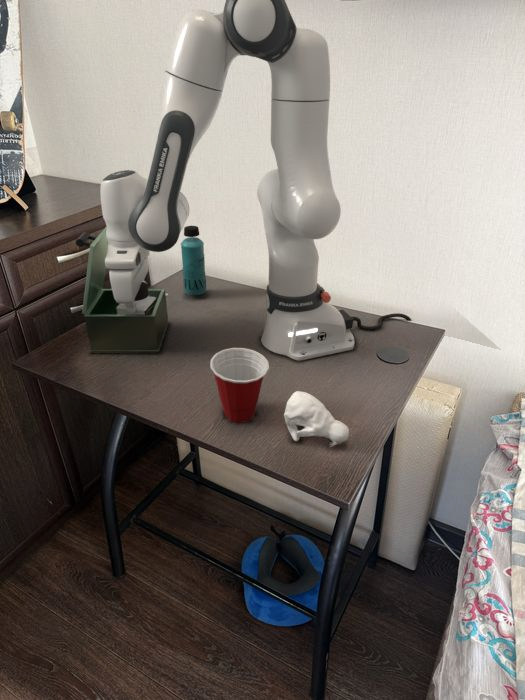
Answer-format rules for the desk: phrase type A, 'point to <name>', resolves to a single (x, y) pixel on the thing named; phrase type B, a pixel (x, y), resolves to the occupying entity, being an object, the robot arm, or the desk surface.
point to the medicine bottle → (140, 302)
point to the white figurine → (312, 419)
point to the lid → (94, 266)
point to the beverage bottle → (193, 262)
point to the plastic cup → (239, 381)
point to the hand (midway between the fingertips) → (136, 304)
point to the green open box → (126, 326)
